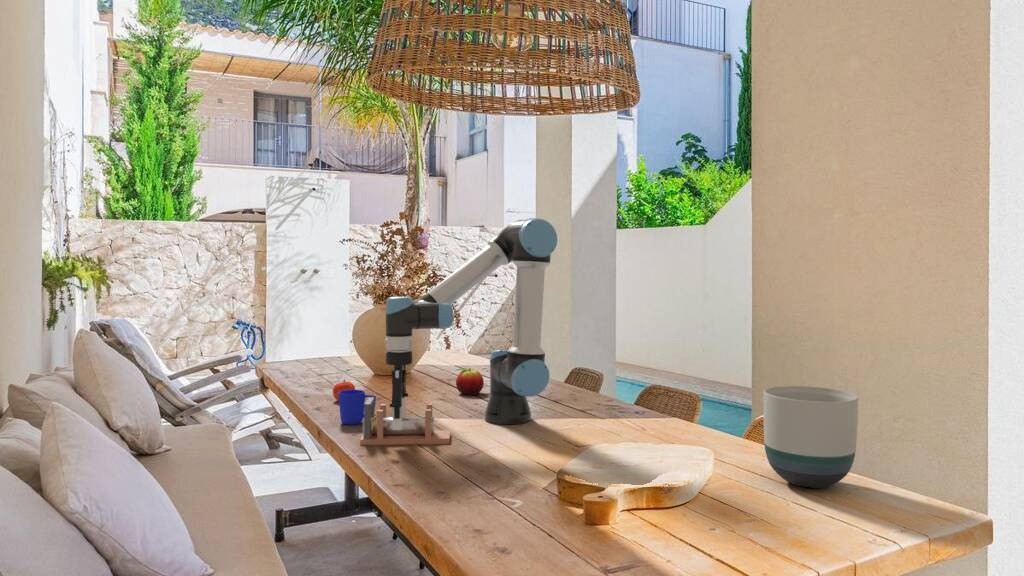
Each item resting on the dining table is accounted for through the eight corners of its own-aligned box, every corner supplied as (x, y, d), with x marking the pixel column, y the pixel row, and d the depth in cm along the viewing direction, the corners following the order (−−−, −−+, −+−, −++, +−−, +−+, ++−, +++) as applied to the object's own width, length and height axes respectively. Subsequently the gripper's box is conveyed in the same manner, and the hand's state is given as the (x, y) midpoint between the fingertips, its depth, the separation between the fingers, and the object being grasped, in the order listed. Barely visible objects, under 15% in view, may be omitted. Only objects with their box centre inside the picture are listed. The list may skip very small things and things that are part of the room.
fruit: (482, 396, 279) (482, 370, 279) (454, 396, 279) (454, 370, 279) (484, 391, 290) (484, 366, 290) (456, 391, 290) (456, 366, 290)
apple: (360, 400, 271) (360, 378, 271) (344, 404, 264) (344, 382, 264) (344, 398, 275) (344, 376, 275) (328, 401, 268) (328, 379, 268)
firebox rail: (450, 435, 218) (450, 396, 218) (449, 443, 209) (449, 403, 208) (364, 436, 217) (364, 397, 216) (360, 444, 207) (359, 404, 206)
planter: (849, 504, 158) (851, 405, 157) (752, 488, 169) (754, 395, 168) (861, 480, 176) (863, 391, 175) (773, 467, 186) (774, 383, 185)
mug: (370, 427, 228) (370, 395, 228) (334, 425, 231) (334, 393, 230) (380, 421, 236) (380, 390, 236) (345, 419, 239) (345, 389, 238)
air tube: (433, 428, 216) (433, 413, 215) (433, 438, 212) (433, 422, 210) (365, 429, 215) (364, 414, 213) (362, 438, 210) (362, 423, 208)
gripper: (390, 345, 223) (390, 415, 224) (381, 356, 199) (381, 434, 200) (414, 345, 224) (415, 415, 225) (409, 356, 199) (409, 434, 200)
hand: (399, 424), depth 212 cm, fingers open, 12 cm apart
